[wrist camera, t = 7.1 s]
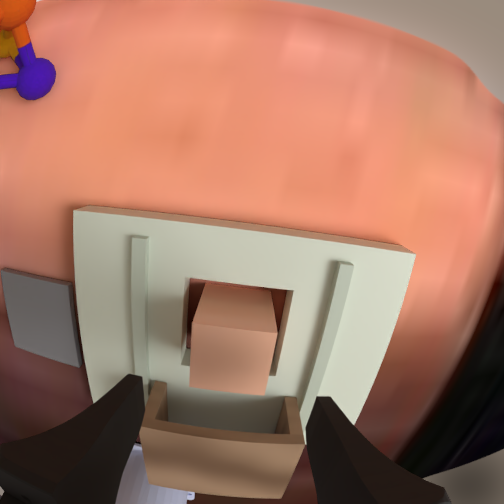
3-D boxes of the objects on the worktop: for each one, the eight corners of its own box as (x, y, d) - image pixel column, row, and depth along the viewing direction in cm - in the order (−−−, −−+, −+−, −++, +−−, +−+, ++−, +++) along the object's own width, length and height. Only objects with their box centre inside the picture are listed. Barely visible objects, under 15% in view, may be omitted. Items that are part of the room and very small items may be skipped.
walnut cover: (277, 456, 21) (281, 498, 17) (159, 443, 21) (148, 483, 16) (296, 397, 19) (305, 444, 15) (155, 380, 19) (138, 425, 15)
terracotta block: (260, 344, 20) (264, 395, 15) (201, 337, 20) (189, 386, 15) (270, 290, 19) (277, 333, 14) (205, 282, 19) (192, 322, 14)
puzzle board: (339, 426, 23) (346, 448, 20) (104, 399, 22) (93, 419, 19) (401, 245, 19) (420, 257, 16) (88, 205, 18) (68, 211, 15)
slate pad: (82, 363, 21) (79, 367, 20) (18, 342, 21) (15, 346, 20) (72, 282, 19) (67, 285, 18) (4, 267, 19) (0, 270, 18)
